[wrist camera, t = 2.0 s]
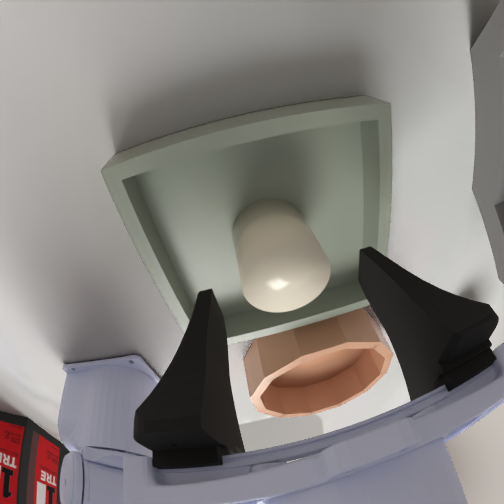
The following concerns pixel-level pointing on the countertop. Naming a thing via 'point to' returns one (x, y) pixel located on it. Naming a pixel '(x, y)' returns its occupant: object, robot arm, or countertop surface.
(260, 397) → the bowl
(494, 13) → the grey storage case
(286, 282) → the cream rounded capsule
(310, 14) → the countertop surface
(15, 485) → the cleaning product box
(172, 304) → the parts tray
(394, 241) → the countertop surface
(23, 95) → the countertop surface
